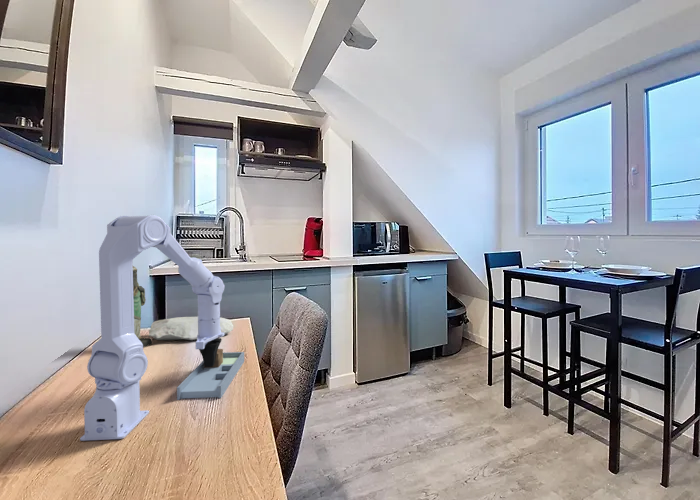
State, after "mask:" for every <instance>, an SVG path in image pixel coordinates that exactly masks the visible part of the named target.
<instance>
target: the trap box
mask: <svg viewBox="0 0 700 500" xmlns="http://www.w3.org/2000/svg"><path fill="white" fill-rule="evenodd" d="M244 363H245V351H234V352H233V351H231V352H228V351H227V352H224V351H223V363H222V364H221V365H220V366H219V367H212V368H204V361H203V360H202V361H201V362H200V363H199V364H198V366H196V367H195V369H193V371H192V372H191V373H189V375H188V376H187V377H185V379H184V380H183V381H182V382H181V383H180V384H179V385H178V386H177V387H176V400H177V401H181V399H202V398H203V399H204V398H207V399H208V398H218V399H222V397H223V396H224V394H225V393H226V392H227V390H228V389H229V386H230V385H231V384H232V381H233V380H234V378H235V377H236V375H237V373H238V372H239V371H240V369H241V367H242V365H243V364H244Z"/></svg>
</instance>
